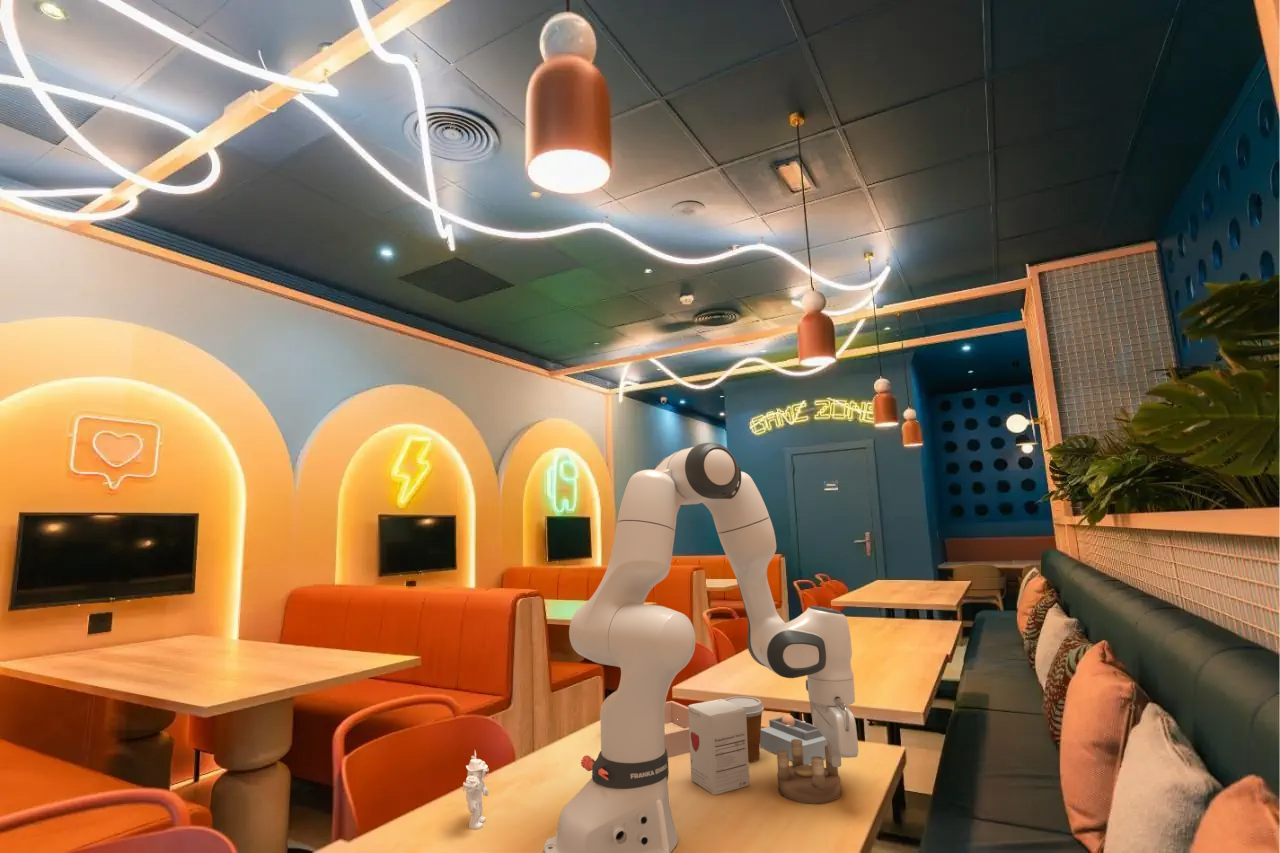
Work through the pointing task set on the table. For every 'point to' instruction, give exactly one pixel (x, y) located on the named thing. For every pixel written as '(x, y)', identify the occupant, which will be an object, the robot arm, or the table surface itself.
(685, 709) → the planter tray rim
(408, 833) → the table surface
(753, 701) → the disposable coffee cup
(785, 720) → the indicator ball
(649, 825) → the robot arm
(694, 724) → the supplement box
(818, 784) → the dial
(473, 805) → the flower shoulder figurine
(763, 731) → the stand
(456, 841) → the table surface
